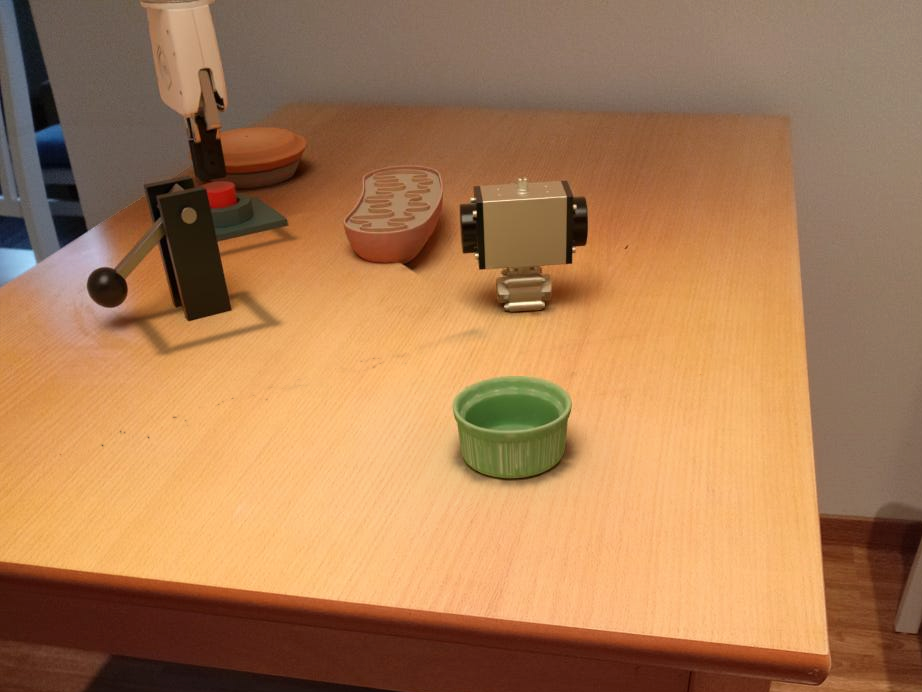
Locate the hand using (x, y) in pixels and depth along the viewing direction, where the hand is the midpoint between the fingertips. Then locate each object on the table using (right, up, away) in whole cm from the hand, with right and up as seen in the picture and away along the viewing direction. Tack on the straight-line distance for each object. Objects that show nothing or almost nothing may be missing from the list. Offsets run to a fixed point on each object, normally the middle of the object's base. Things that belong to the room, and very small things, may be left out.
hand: (211, 177), depth 115 cm
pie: (0, +10, +22) cm, 24 cm away
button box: (+1, -5, +5) cm, 7 cm away
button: (0, -2, +2) cm, 3 cm away
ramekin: (+33, -38, -35) cm, 62 cm away
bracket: (+3, -21, -14) cm, 25 cm away
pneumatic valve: (+35, -19, -14) cm, 42 cm away
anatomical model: (+22, -7, +1) cm, 23 cm away
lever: (0, -17, -19) cm, 26 cm away
